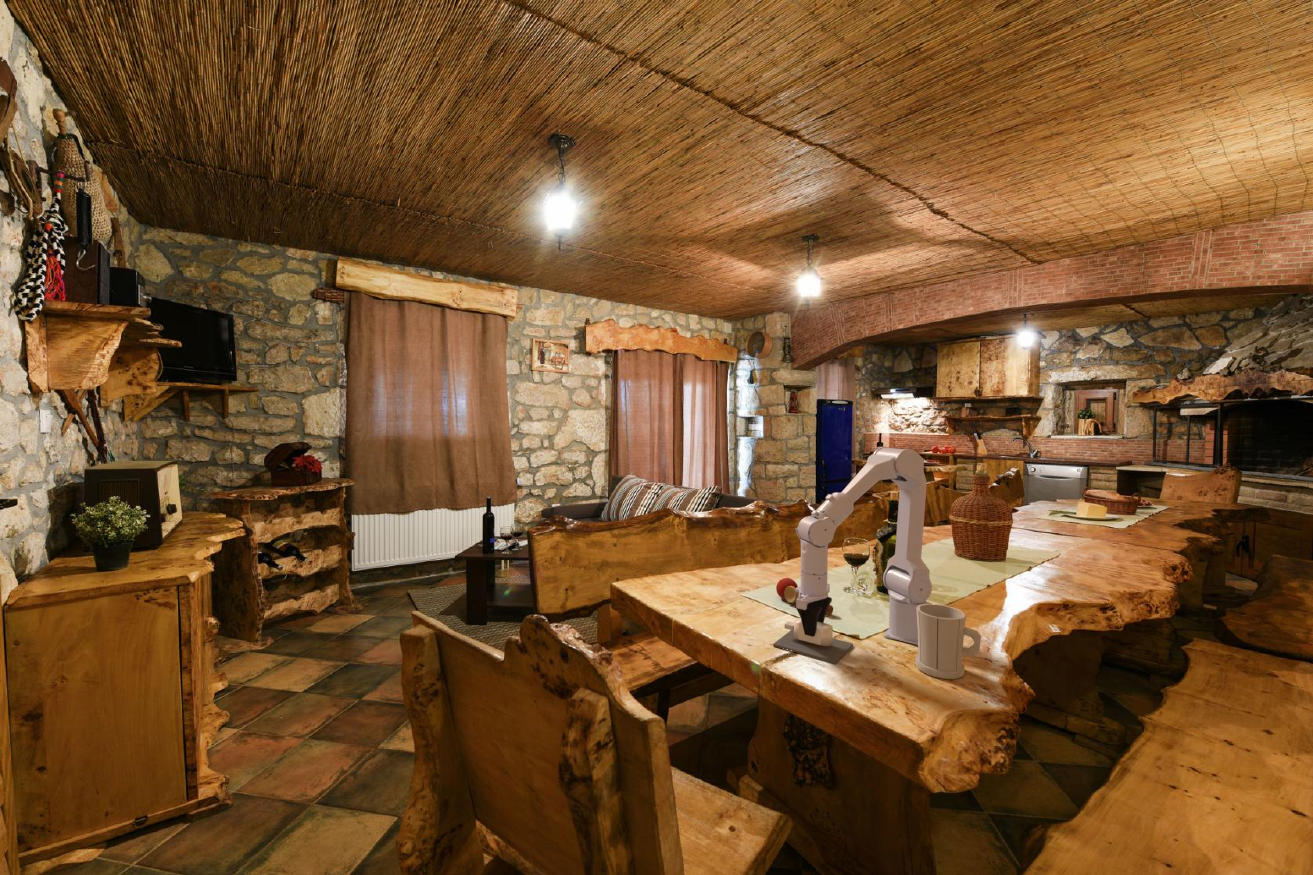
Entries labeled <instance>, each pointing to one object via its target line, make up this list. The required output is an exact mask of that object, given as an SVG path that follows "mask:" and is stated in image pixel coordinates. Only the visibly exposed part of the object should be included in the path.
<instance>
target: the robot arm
mask: <svg viewBox="0 0 1313 875" xmlns="http://www.w3.org/2000/svg"><path fill="white" fill-rule="evenodd" d="M924 464H925V459H924V458H923V457H922V456H921V455H920V454H919V453H918V452H917V451H915V450H914V449H911V448H894V447H887V446H881V447H878V448H876V449H875V451H874V452H873V453H871V455H870V456H868V457H867V460H866V464H864V466H863V467H862V468H861V469H860V470H859V472H858V473H856V475H855V476H854V477H853V479H851V480H850V482H849V483H848V484H847V485H846V487H845V488H844V489H843V490H842V491H841V492H833V493H831V494H830V493H828V494H827V495H826V496H825V500H824V501H823V502H822V504H821V505H820V506H819V507H817V508H816V509H815V510H812V512H811V515H808V516H805V517H802V519H801V520H800V521H799V522H798V525H797V527H796V528H795V533H796V536H797V537H798V540H800V586H801V587H800V586H798V587H797V588H796V589H795V591H796V592H798V593H799V597H798V598H797V599H796V602H795V603H794V607H795V609H796V611H797V612H798V615H799V618H801V621H802V625H803V629H804V633H805V635H808V636H812V637H814V636H815V633H816V628H817V622H821V623H825V618H826V612H827V609H828V607H829V605H831V604H832V601H833V599H832V597H831V596H829V593H830V590H831V589H830V587H831V586H830V585H831V584H830V583H828V565H829V564H828V563H829V562H828V557H829V555H828V554H829V552H828V551H829V549H828V548H829V547H828V546H829V544H830V543H832V541H833V540H834V536H835V532H836V531H837V528H838V527H839V526H840V525H841V524H842V523H843V522H844V521H845V520H846V519H847V518H848V517H849V516H850V515H851V514H852V513H853V512H854V507H855V506H854V503H856V501H858V500H859V499H860V498H861V497H863V495H864V494H866V492H868V491H869V490H870V489H871V488H872V487H873V486H874V485H876V483H878V482H879V481H883V480H884V481H886V480H891V481H892V482H893V483H894V484H895V485H896V487H898V488H899V495H898V507H897V508H898V510H897V521H896V522H897V523H896V524H897V525H896V537H895V549H894V550H895V551H894V555H893V556H892V557H890V558H889V559H888V560H887V564H886V569H885V571H884V572H883V574H882V582H883V585H884V587H885V588H886V589H887V593H888V595H889V605H888V606H889V608H888V609H889V614H888V615H889V617H888V628H887V630H886V631H885V632H884V634H883V637H884V638H888V639H892V640H896V641H901V642H903V643H904V642H905V643H909V644H912V645H917V646H918V627H917V612H916V607H917V606H918V605H922V604H934V603H932V602H929V601H927V600H928V599H929V597H930V596H931V594H932V592H933V585H932V581H931V577H930V574H931V572H930V569H929V568H928V565H927V564H926V563H925V562H924V561H923V559H922V554H923V552H922V550H923V539H924V525H925V512H926V500H927V499H926V497H927V478H926V475H925V472H924V466H925V465H924Z"/></svg>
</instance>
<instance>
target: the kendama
mask: <svg viewBox="0 0 1313 875" xmlns="http://www.w3.org/2000/svg"><path fill="white" fill-rule="evenodd" d="M797 587H801V585H800V586H798V583H797V582H796V581H795V580H794V579H792V578H790V577H784V578H781V579H779V581H778V582H777V584H776V589H775V591H776V593H777V595H778V596H779V597H780V598H781V599H783V600H785V601H786V602H787V603H789V604H795V602H796V599H797V598H798V597H799V593H798V592H796V591H795V589H796V588H797ZM833 612H834V607H833V605H831V604H830V605H829V607H828V609H827V612H826V615H825V617H830V616H832V614H833Z"/></svg>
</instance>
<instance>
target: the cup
mask: <svg viewBox="0 0 1313 875" xmlns="http://www.w3.org/2000/svg"><path fill="white" fill-rule="evenodd" d="M916 612H917V627H918V645H917V655H916V656H915V658H914V659H915V661H914V662H915V663H914V664H915V666H916V668H917V669H918V670H920V671H921V672H922V673H923V674H925V673H926V675H928V676H931V677H933V678H938V679H940V680H941V679H942V680H943V679H944V680H957V679H959V678H961V677H963V676H964V675H965V665H964V664H963V656H970V657H973V656H976V655H977V654H978V653H979V652H980V650H981V649H980V648H981V641H982V640H981V639H982V635H981V633H980V632H979V630H976V629H973V628H971V627H968V626H966V620H967V619H966V618H967V616H966V615H967V614H966V613H965V612H963V611H962V610H960V609H958V608H957V607H953V606H950V605H945V604H940V603H938V604H937V603H933V604H922V605H918V606H917V607H916ZM964 636H967V637H970V638H971V639H972V641H973V644H972V645H971V646H969V647H964Z"/></svg>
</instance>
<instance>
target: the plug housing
mask: <svg viewBox="0 0 1313 875" xmlns="http://www.w3.org/2000/svg"><path fill="white" fill-rule="evenodd" d="M784 629H786V630H789V631H791V630H794V637H795V638H796V639H799V640H803V641H807V642H810V643H814V644H818V645H822V646H830V645H832V638H833V632H834V631H833V625H832V624H829V623H825V622H824V623H821V622H817V628H816V633H815V636H814V637H812V636H808V635H805V633H804V629H803V625H802V621H801V618H800V617H796V618H794V619H793V622H791V621H786V622H785V623H784Z"/></svg>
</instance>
